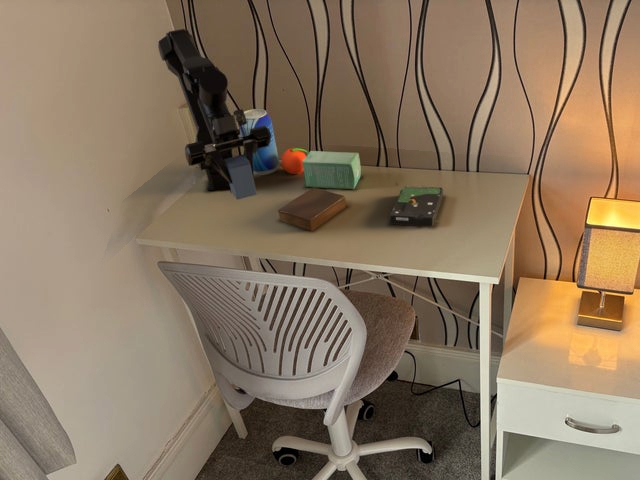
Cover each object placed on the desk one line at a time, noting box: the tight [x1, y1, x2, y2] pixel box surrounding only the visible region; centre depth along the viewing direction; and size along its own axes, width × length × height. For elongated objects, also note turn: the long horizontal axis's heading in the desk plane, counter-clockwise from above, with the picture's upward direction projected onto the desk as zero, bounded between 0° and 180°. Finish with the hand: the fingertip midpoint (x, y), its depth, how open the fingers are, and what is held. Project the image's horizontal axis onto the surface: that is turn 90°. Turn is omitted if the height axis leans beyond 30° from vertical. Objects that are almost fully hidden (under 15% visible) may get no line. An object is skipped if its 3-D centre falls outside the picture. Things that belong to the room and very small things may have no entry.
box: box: [302, 150, 362, 190], centre depth 162 cm, size 7×14×8 cm, turn 79°
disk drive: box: [389, 185, 444, 227], centre depth 149 cm, size 10×3×15 cm
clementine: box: [281, 147, 309, 175], centre depth 168 cm, size 8×7×7 cm
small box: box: [224, 153, 257, 200], centre depth 138 cm, size 5×5×8 cm
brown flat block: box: [277, 187, 347, 232], centre depth 150 cm, size 10×13×3 cm
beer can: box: [240, 108, 280, 176], centre depth 168 cm, size 8×8×16 cm
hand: (242, 180), depth 138 cm, fingers closed on small box, 4 cm apart
